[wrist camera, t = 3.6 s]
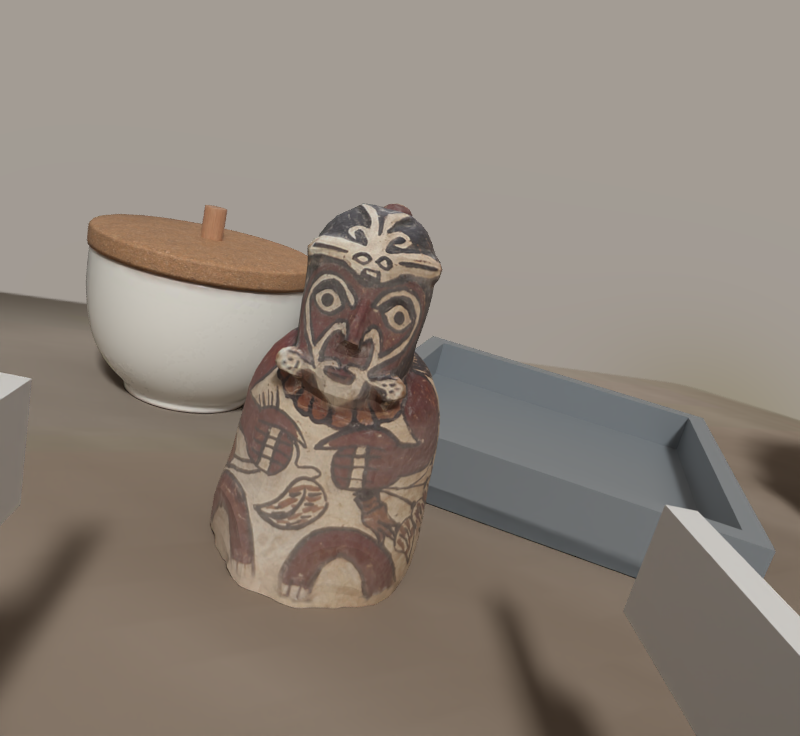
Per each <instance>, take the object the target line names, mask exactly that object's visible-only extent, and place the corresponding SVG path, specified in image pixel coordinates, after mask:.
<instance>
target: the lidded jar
mask: <svg viewBox="0 0 800 736" xmlns="http://www.w3.org/2000/svg"><path fill="white" fill-rule="evenodd" d="M226 215H227V209H224V208H221V207H217V206H212V205H205V210H204V217H203V223H202V224H199V223H193V222H188V221H181V220H175V219H168V218H161V217H153V216H144V215H127V214H114V215H103V216H98V217H95V218H93V219H92V220H91V221H90V222H89V226H88V235H87V241H88V245H89V253H88V262H87V276H86V295H87V310H88V316H89V323H90V328H91V331H92V334H93V337H94V340H95V343H96V345H97V347H98V349H99V350H100V352H101V354H102V356H103V358H104V359H105V360H106V362H107V363H108V364H109V366H110V367H111V368H112V369H113V370H114V371H115V372H116V373H117V374H118V375H119V376H120V377H121V378H122V379H123V380H124V382H123V384H124V387H125V389H126V390H127V391H128V392H129V393H130V394H131V395H133V396H134V397H136V398H137V399H139V400H141V401H143V402H146V403H148V404H151V405H154V406H157V407H161V408H165V409H169V410H174V411H180V412H189V413H220V412H226V411H230V410H234V409H237V408H239V407H241V406H242V405H244V404H245V400H246V396H247V392H248V388H249V384H250V382H251V380H252V377H253V375H254V373H255V370H256V369H257V367H258V365H259V364H260V362H261V361H262V359H263V358H264V356H265V355H266V354H267V353H268V351H269V350H270V349H271V348H272V346H273V345H274V344H275V343H276V342H277V341H279V340H280V339H281V338H282V337H284V336H285V335H286V334H288V333H289V332H290V331H291V330H293V329H295V328H297V327H298V325H299V317H300V309H301V302H302V297H303V292H304V288H305V280H306V272H307V261H308V256H307V255H305V254H303V253H301V252H299V251H297V250H294V249H292V248H289V247H287V246H284V245H281V244H278V243H275V242H272V241H269V240H265V239H262V238H259V237H255V236H252V235H248V234H244V233H240V232H236V231H232V230H227V229H224V227H225V221H226Z"/></svg>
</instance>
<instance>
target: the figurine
mask: <svg viewBox="0 0 800 736" xmlns="http://www.w3.org/2000/svg"><path fill="white" fill-rule="evenodd" d="M441 272H442V267H441V264H440V261H439V260H438V258H437V257H436V255H435V252H434V249H433V245H432V242H431V240H430V238H429V235H428V233H427V231H426V230H425V229H424V227H423V226H422V225H421V224H420V223H419V222H418V221H417V220H416V219H414V218H413V217H412V214H411V212H410V210H409V209H408V208H406V207H405V206H403V205H400V204H389V205H387V206H385V207H380V206H377V205H371V204H364V203H363V204H361V205H359V206H357V207H355V208H353V209H351V210H348V211H346V212H344V213H342V214H340V215H337V216H336V217H335V218H334V219H333V220H332V221H330V222H329V223H328V224H327V225H326V227H325V228H324V229H323V231H322V232H321V233H320V235H319V237H317V238H315V239H314V240H313V241H312V242H311V243H310V244H309V245H308V261H307V272H306V280H305V288H304V292H303V297H302V302H301V309H300V317H299V325H298V327H297V328H295V329H293V330H291V331H290V332H289V333H288V334H286V335H285V336H284V337H282V338H281V339H280V340H279V341H277V342H276V343H275V344H274V345H273V346H272V348H271V349H270V350H269V351H268V353H267V354H266V355H265V356H264V358H263V359H262V361H261V362H260V364H259V365H258V367H257V369H256V370H255V373H254V375H253V377H252V380H251V382H250V384H249V388H248V392H247V396H246V400H245V404H244V408H243V411H242V415H241V418H240V421H239V425H238V429H237V433H236V437H235V441H234V445H233V447H232V450H231V453H230V456H229V459H228V461H227V464H226V466H225V468H224V470H223V473H222V475H221V477H220V480H219V482H218V485H217V488H216V491H215V494H214V500H213V506H212V513H211V528H212V530H213V532H214V534H215V546H216V548H217V549H218V551H219V552H220V554H221V556H222V558H223V559H224V560H225V561H226V562H227V568H228V570H229V572H230V574H231V576H232V578H233V579H234V580H235V581H236V582H237V583H238V585H239V586H241V587H243V588H245V589H248V590H251V591H254V592H258V593H260V594H263V595H265V596H267V597H270V598H272V599H274V600H275V601H277V602H279V603H282V604H285V605H287V606H290V607H293V608H310V607H321V608H339V607H362V606H366V605H375V604H377V603H379V602H381V601H383V600H384V599H386V598H388V597H389V596H390V595H391V594H392V593H393V592H394V591H395V589H396V588H397V586H398V585H399V584H400V582H401V580H402V579H403V577H404V575H405V574H406V572H407V570H408V568H409V566H410V563H411V560H412V557H413V554H414V551H415V547H416V544H417V541H418V538H419V533H420V528H421V524H422V519H423V514H424V509H425V504H426V498H427V492H428V486H429V481H430V477H431V473H432V469H433V464H434V459H435V455H436V449H437V443H438V437H439V426H440V411H439V398H438V394H437V391H436V388H435V385H434V382H433V378H432V375H431V372H430V371H429V369H428V367H427V365H426V364H425V362H424V361H423V360H422V358H421V357H420V356H419V355H418V354H417V353H416V352H415V348H416V344H417V341H418V339H419V336H420V333H421V331H422V328H423V325H424V322H425V319H426V316H427V313H428V310H429V306H430V302H431V298H432V294H433V288H434V285H435V283H436V282H437V281H438V280H439V278H440V275H441Z"/></svg>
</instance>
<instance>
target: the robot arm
mask: <svg viewBox="0 0 800 736" xmlns="http://www.w3.org/2000/svg"><path fill="white" fill-rule="evenodd" d="M31 382H32V379H31V378H26V377H21V376H16V375H11V374H6V373H1V372H0V525H1V524H2V523H3V522H4V521H5V520H6V519H7V518H8V517H9V516H10V515H11V514H12V513H13V512H14V511H15V510H16V509H17V508H18V507H19V506H20V503H21V492H22V481H23V470H24V459H25V448H26V437H27V426H28V415H29V404H30V393H31ZM623 612H624V613H625V615H626V617H627V618H628V620H629V622H630V624H631V625H632V627H633V629H634V630H635V632H636V634H637V636H638V637H639V639H640V641H641V642H642V644H643V646H644V647H645V649H646V651H647V653H648V654H649V656H650V658H651V659H652V661H653V663H654V664H655V666H656V668H657V670H658V671H659V673H660V675H661V676H662V678H663V680H664V681H665V683H666V685H667V687H668V688H669V690H670V692H671V693H672V695H673V697H674V699H675V700H676V702H677V704H678V705H679V707H680V709H681V710H682V712H683V714H684V716H685V717H686V719H687V721H688V722H689V724H690V726H691V727H692V729H693V731H694V733H695V734H696V736H800V616H799V615H798V614H797V613H796V612H795V611H794V610H793V609H792V608H791V607H790V606H789V605H788V604H787V603H786V602H785V601H784V600H783V599H782V598H781V597H780V596H779V595H778V594H777V593H776V592H775V590H774V589H773V588H772V587H771V586H770V585H769V584H768V583H767V582H766V581H765V580H764V579H763V578H762V577H761V576H760V575H759V574H758V573H757V572H756V571H755V570H754V569H753V568H752V567H751V566H750V565H749V564H748V563H747V562H746V561H745V559H744V558H743V557H742V556H741V555H740V554H739V553H738V552H737V551H736V550H735V549H734V548H733V547H732V546H731V545H730V544H729V543H728V542H727V541H726V540H725V539H724V538H723V537H722V536H721V535H720V534H719V533H718V532H717V531H716V529H715V528H714V527H713V526H712V525H711V524H710V523H709V522H708V521H707V520H706V519H705V518H704V517H703V516H702V515H701V514H700V513H699V512H698V511H695V510H690V509H685V508H680V507H675V506H670V505H665V506H664V509H663V511H662V514H661V516H660V519H659V522H658V524H657V527H656V529H655V532H654V534H653V537H652V539H651V542H650V544H649V547H648V550H647V552H646V555H645V557H644V560H643V562H642V565H641V567H640V570H639V572H638V575H637V577H636V580H635V583H634V585H633V588H632V590H631V593H630V595H629V598H628V600H627V603H626V605H625V608H624V611H623Z"/></svg>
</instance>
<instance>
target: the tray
mask: <svg viewBox="0 0 800 736" xmlns="http://www.w3.org/2000/svg"><path fill="white" fill-rule="evenodd" d="M415 352H416V353H417V354H418V355H419V356H420V357H421V358H422V360H423V361H424V362H425V364H426V365H427V367H428V369H429V371H430V372H431V375H432V378H433V382H434V385H435V388H436V391H437V394H438V398H439V411H440V426H439V437H438V443H437V449H436V455H435V459H434V464H433V469H432V473H431V477H430V481H429V486H428V492H427V498H426V503H429V504H432V505H434V506H437V507H440V508H443V509H445V510H448V511H451V512H454V513H457V514H459V515H462V516H465V517H468V518H470V519H473V520H476V521H479V522H482V523H484V524H487V525H490V526H493V527H496V528H498V529H501V530H504V531H507V532H509V533H512V534H515V535H518V536H521V537H523V538H526V539H529V540H532V541H534V542H537V543H540V544H543V545H546V546H548V547H551V548H554V549H557V550H560V551H562V552H565V553H568V554H571V555H573V556H576V557H579V558H582V559H585V560H587V561H590V562H593V563H596V564H598V565H601V566H604V567H607V568H610V569H612V570H615V571H618V572H621V573H624V574H626V575H629V576H632V577H635V578H636V577H637V575H638V572H639V570H640V567H641V565H642V562H643V560H644V557H645V555H646V552H647V550H648V547H649V544H650V542H651V539H652V537H653V534H654V532H655V529H656V527H657V524H658V522H659V519H660V516H661V514H662V511H663V509H664V506H665V505H670V506H675V507H680V508H685V509H690V510H695V511H698V512H699V513H700V514H701V515H702V516H703V517H704V518H705V519H706V520H707V521H708V522H709V523H710V524H711V525H712V526H713V527H714V528H715V529H716V531H717V532H718V533H719V534H720V535H721V536H722V537H723V538H724V539H725V540H726V541H727V542H728V543H729V544H730V545H731V546H732V547H733V548H734V549H735V550H736V551H737V552H738V553H739V554H740V555H741V556H742V557H743V558H744V559H745V561H746V562H747V563H748V564H749V565H750V566H751V567H752V568H753V569H754V570H755V571H756V572H757V573H758V574H759V575H760V576H761V577H762V578H764V576H765V573H766V571H767V569H768V567H769V565H770V562H771V560H772V558H773V556H774V554H775V552H776V551H775V549H774V547H773V545H772V544H771V542H770V540H769V538H768V536H767V534H766V533H765V531H764V529H763V527H762V525H761V523H760V522H759V520H758V518H757V516H756V514H755V512H754V511H753V509H752V507H751V505H750V503H749V501H748V500H747V498H746V496H745V494H744V492H743V491H742V489H741V487H740V485H739V483H738V481H737V480H736V478H735V476H734V474H733V472H732V470H731V469H730V467H729V465H728V463H727V461H726V459H725V458H724V456H723V454H722V452H721V450H720V448H719V447H718V445H717V443H716V441H715V439H714V437H713V436H712V434H711V432H710V430H709V428H708V426H707V425H706V423H705V421H704V419H703V418H701V417H697V416H694V415H691V414H687V413H684V412H681V411H678V410H674V409H671V408H668V407H664V406H661V405H658V404H655V403H651V402H648V401H645V400H641V399H638V398H635V397H632V396H628V395H625V394H622V393H618V392H615V391H612V390H609V389H605V388H602V387H599V386H595V385H592V384H589V383H586V382H582V381H579V380H576V379H572V378H569V377H566V376H563V375H559V374H556V373H553V372H549V371H546V370H543V369H540V368H536V367H533V366H530V365H526V364H523V363H520V362H517V361H513V360H510V359H507V358H503V357H500V356H497V355H493V354H490V353H487V352H484V351H480V350H477V349H474V348H470V347H467V346H463V345H461V344H457V343H454V342H451V341H447V340H444V339H441V338H438V337H434V336H433V337H431V338H430V339H429V340H427V341H426V342H424V343H423V344H422V345H420V346H419V347H417V348H416V349H415Z"/></svg>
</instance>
